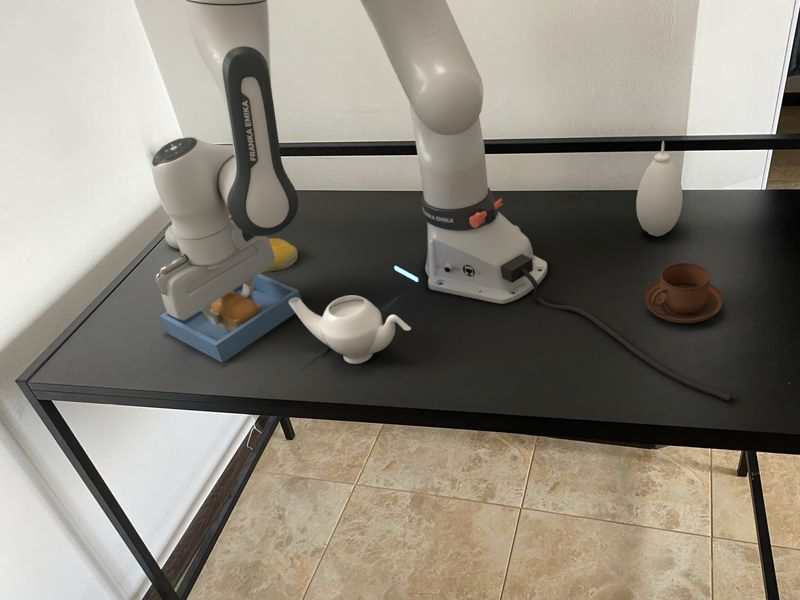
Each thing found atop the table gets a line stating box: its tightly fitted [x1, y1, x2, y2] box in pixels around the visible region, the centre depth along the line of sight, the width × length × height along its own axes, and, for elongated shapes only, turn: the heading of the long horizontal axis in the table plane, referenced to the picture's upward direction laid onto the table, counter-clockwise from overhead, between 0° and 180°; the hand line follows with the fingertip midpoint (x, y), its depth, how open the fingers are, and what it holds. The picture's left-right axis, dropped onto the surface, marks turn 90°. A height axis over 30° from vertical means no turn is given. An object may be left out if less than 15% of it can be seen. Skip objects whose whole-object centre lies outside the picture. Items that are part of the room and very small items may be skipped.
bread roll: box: [263, 237, 299, 273], centre depth 142 cm, size 8×9×4 cm
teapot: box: [289, 294, 412, 365], centre depth 115 cm, size 10×20×9 cm, turn 72°
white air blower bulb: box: [635, 140, 684, 237], centre depth 132 cm, size 8×8×18 cm
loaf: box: [204, 291, 262, 332], centre depth 127 cm, size 11×5×5 cm, turn 52°
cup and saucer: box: [643, 262, 724, 324], centre depth 117 cm, size 12×12×6 cm
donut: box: [164, 224, 180, 250], centre depth 153 cm, size 10×4×10 cm
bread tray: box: [159, 273, 303, 363], centre depth 127 cm, size 16×18×4 cm
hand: (233, 312), depth 127 cm, fingers closed on loaf, 5 cm apart
